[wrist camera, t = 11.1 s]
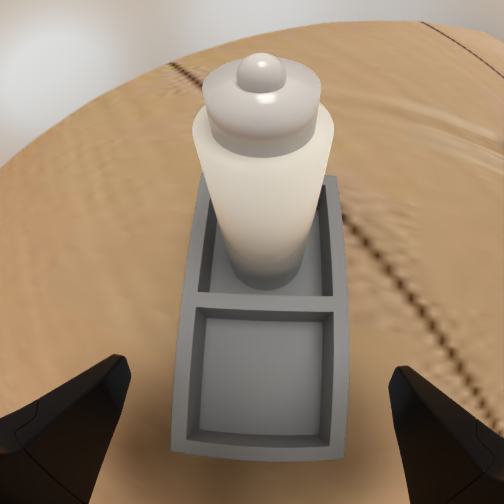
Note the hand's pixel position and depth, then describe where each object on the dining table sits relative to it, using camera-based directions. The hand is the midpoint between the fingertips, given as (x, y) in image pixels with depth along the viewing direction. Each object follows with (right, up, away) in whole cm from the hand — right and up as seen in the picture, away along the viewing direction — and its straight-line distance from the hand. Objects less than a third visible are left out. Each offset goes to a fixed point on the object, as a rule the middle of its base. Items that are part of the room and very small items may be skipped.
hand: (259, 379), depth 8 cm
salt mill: (+1, +4, +10) cm, 11 cm away
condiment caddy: (+1, 0, +10) cm, 10 cm away
